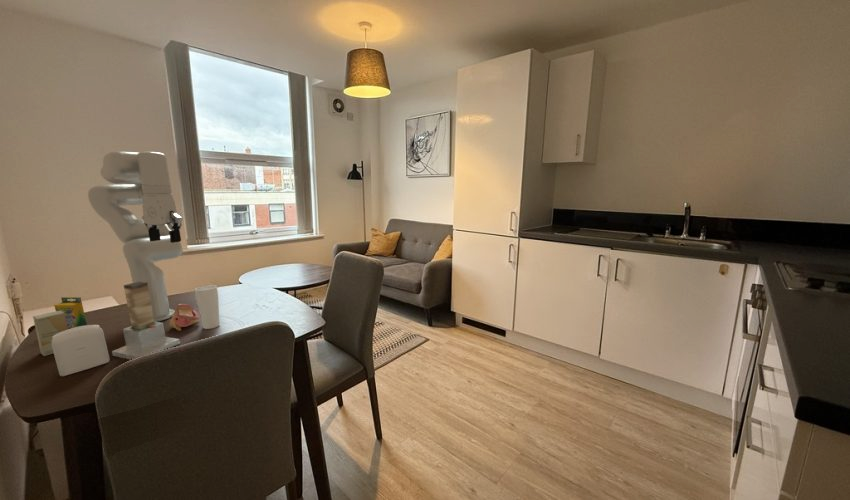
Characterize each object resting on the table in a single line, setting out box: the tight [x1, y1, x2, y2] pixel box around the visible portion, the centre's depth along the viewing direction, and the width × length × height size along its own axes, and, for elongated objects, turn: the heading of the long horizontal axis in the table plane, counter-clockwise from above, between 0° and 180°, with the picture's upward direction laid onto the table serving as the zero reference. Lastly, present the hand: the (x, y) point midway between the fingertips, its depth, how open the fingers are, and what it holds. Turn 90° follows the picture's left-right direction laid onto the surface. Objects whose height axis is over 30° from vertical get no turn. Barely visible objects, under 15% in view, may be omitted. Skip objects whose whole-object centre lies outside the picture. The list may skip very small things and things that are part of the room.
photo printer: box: [52, 324, 111, 377], centre depth 94 cm, size 10×4×12 cm, turn 140°
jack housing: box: [111, 321, 181, 361], centre depth 104 cm, size 12×12×8 cm
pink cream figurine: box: [169, 303, 200, 331], centre depth 122 cm, size 9×10×10 cm
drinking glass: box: [194, 284, 221, 330], centre depth 120 cm, size 7×7×15 cm
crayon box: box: [53, 296, 88, 329], centre depth 120 cm, size 7×3×12 cm, turn 90°
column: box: [123, 282, 155, 330], centre depth 102 cm, size 4×4×14 cm
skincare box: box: [32, 310, 68, 357], centre depth 104 cm, size 6×4×12 cm
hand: (165, 241), depth 114 cm, fingers open, 9 cm apart
